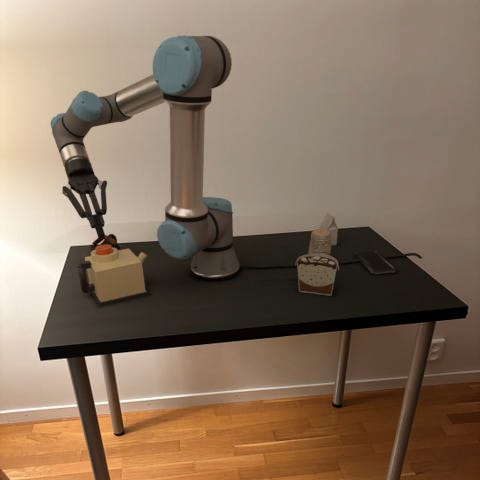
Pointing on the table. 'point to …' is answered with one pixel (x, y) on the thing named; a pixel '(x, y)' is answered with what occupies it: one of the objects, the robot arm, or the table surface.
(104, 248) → the button
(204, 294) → the table surface
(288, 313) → the table surface
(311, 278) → the food container
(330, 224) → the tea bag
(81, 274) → the kettle handle and spout
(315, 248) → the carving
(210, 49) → the robot arm
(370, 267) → the phone
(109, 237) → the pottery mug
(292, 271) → the table surface
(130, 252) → the kettle
